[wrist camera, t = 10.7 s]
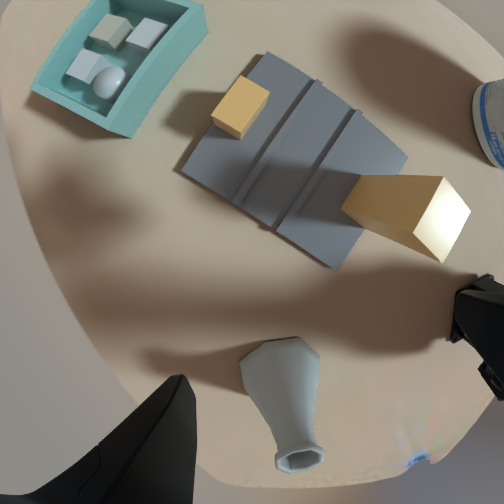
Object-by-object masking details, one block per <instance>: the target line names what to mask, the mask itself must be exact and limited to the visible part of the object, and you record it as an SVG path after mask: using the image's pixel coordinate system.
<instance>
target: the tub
mask: <svg viewBox="0 0 504 504" xmlns="http://www.w3.org/2000/svg"><path fill="white" fill-rule="evenodd" d="M207 33H208V28H207V23H206V18H205V13H204V8H203V5H202V4H199V3H196V2H193V1H190V0H91V1H90V2H89V3H88V4H87V6H86V7H85V8H84V9H83V10H82V11H81V13H80V14H79V15H78V16H77V17H76V19H75V20H74V21H73V22H72V24H71V25H70V26H69V28H68V29H67V30H66V32H65V33H64V34H63V36H62V37H61V38H60V40H59V41H58V43H57V44H56V46H55V47H54V48H53V50H52V51H51V53H50V54H49V56H48V58H47V59H46V61H45V62H44V64H43V66H42V67H41V69H40V71H39V72H38V74H37V76H36V77H35V79H34V81H33V83H32V85H31V86H30V88H29V89H31V90H33V91H35V92H37V93H39V94H41V95H43V96H44V97H46V98H48V99H50V100H52V101H54V102H56V103H58V104H60V105H62V106H64V107H66V108H68V109H69V110H71V111H73V112H75V113H77V114H79V115H81V116H83V117H84V118H86V119H88V120H90V121H92V122H94V123H95V124H97V125H99V126H101V127H103V128H105V129H106V130H108V131H111V132H114V133H117V134H120V135H123V136H126V137H129V138H131V139H132V137H133V135H134V134H135V132H136V130H137V128H138V127H139V125H140V124H141V122H142V120H143V119H144V117H145V116H146V114H147V112H148V111H149V109H150V108H151V106H152V105H153V103H154V102H155V100H156V99H157V97H158V96H159V94H160V93H161V92H162V90H163V89H164V87H165V86H166V85H167V83H168V82H169V80H170V79H171V78H172V76H173V75H174V74H175V72H176V71H177V70H178V68H179V67H180V66H181V64H182V63H183V62H184V61H185V59H186V58H187V57H188V56H189V54H190V53H191V52H192V51H193V50H194V48H195V47H196V46H197V45H198V44H199V42H200V41H201V40H202V39H203V38H204V37H205V36H206V34H207Z"/></svg>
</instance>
